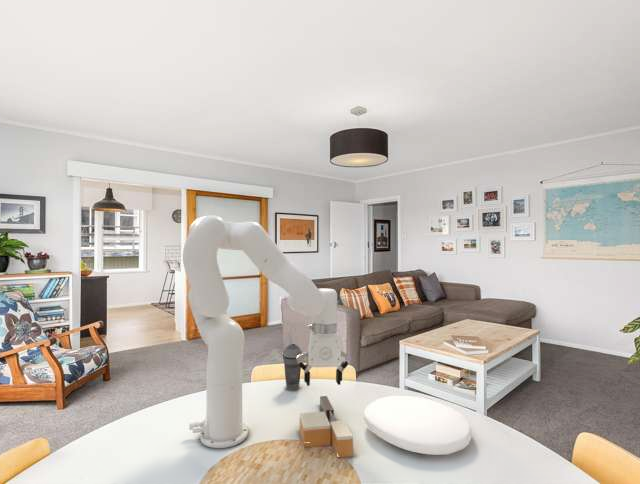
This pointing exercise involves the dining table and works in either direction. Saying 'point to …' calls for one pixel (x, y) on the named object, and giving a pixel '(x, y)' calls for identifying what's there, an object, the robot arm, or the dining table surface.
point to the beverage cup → (292, 365)
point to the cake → (315, 429)
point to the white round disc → (418, 425)
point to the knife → (327, 408)
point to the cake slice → (341, 438)
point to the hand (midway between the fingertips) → (323, 383)
